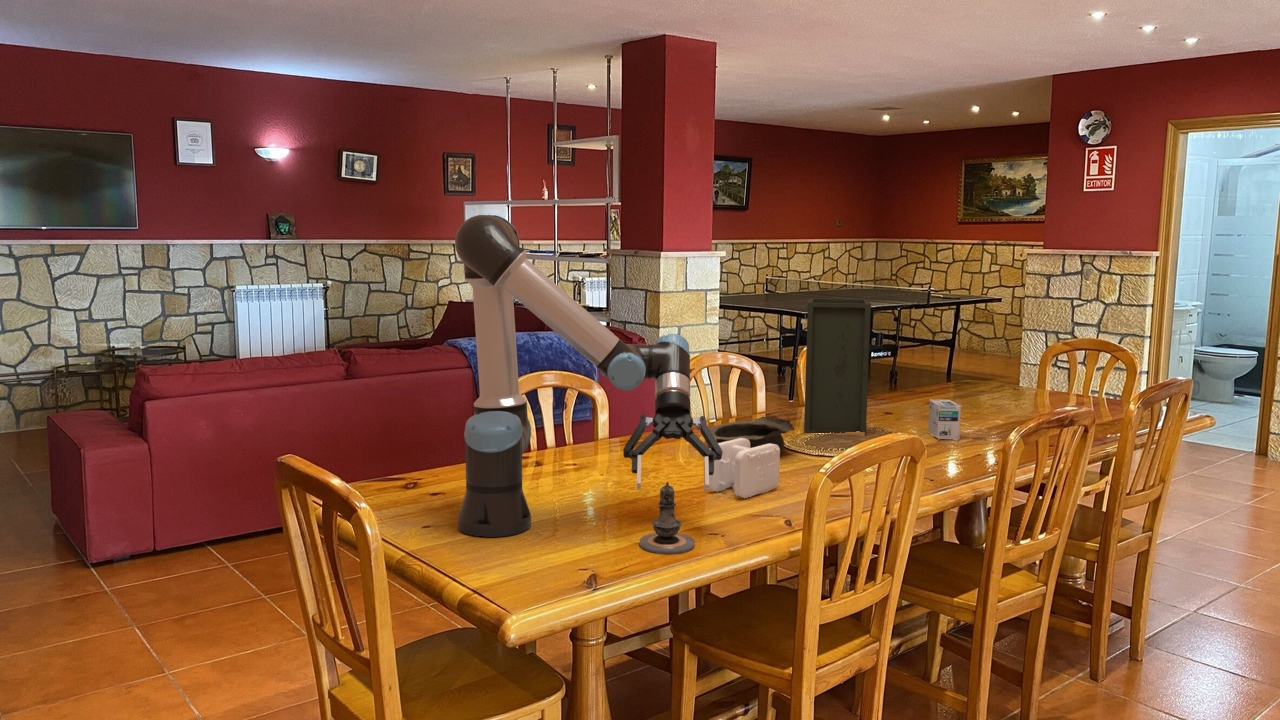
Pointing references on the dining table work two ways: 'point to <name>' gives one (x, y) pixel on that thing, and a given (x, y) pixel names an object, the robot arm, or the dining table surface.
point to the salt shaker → (666, 518)
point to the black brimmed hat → (754, 431)
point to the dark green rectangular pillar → (837, 365)
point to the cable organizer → (746, 468)
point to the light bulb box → (944, 419)
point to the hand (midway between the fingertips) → (672, 487)
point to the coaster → (680, 547)
